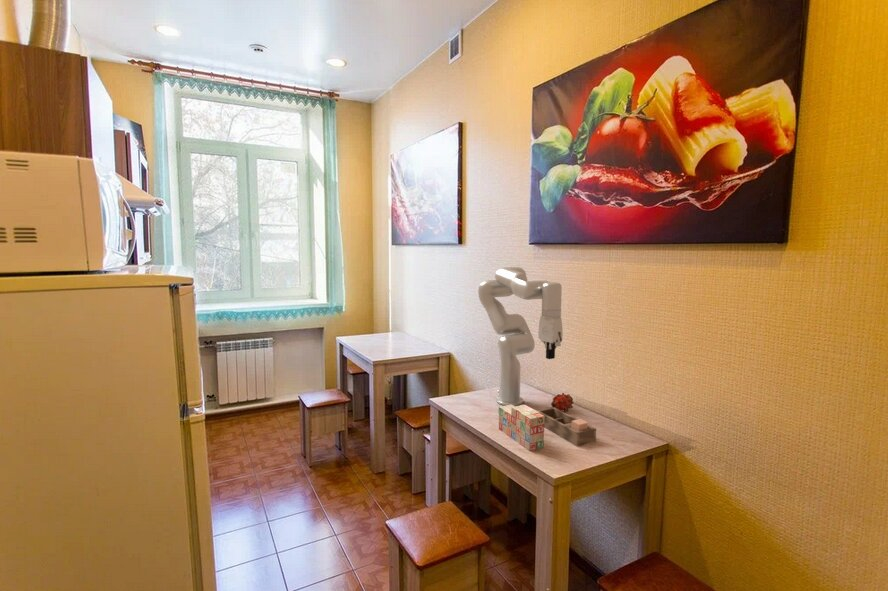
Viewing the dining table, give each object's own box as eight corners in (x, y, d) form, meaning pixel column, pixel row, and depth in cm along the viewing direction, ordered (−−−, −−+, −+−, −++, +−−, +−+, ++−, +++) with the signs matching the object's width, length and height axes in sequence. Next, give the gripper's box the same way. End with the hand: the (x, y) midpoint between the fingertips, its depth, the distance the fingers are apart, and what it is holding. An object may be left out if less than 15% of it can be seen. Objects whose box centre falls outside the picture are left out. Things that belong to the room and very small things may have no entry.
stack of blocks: (498, 429, 173) (498, 399, 172) (511, 426, 176) (511, 396, 175) (529, 451, 154) (530, 418, 153) (544, 448, 157) (544, 415, 155)
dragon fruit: (573, 412, 195) (554, 421, 189) (561, 397, 200) (542, 405, 194) (581, 401, 189) (562, 410, 183) (568, 386, 194) (549, 394, 188)
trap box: (536, 422, 179) (536, 410, 179) (553, 418, 183) (553, 407, 182) (576, 446, 158) (577, 433, 157) (595, 441, 161) (596, 428, 161)
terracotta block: (571, 431, 164) (571, 420, 163) (579, 429, 165) (579, 419, 165) (578, 435, 160) (579, 424, 160) (587, 433, 162) (587, 422, 161)
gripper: (532, 311, 179) (531, 355, 181) (556, 316, 166) (554, 363, 168) (546, 310, 182) (546, 353, 184) (571, 315, 169) (570, 361, 171)
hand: (550, 358), depth 176 cm, fingers closed
